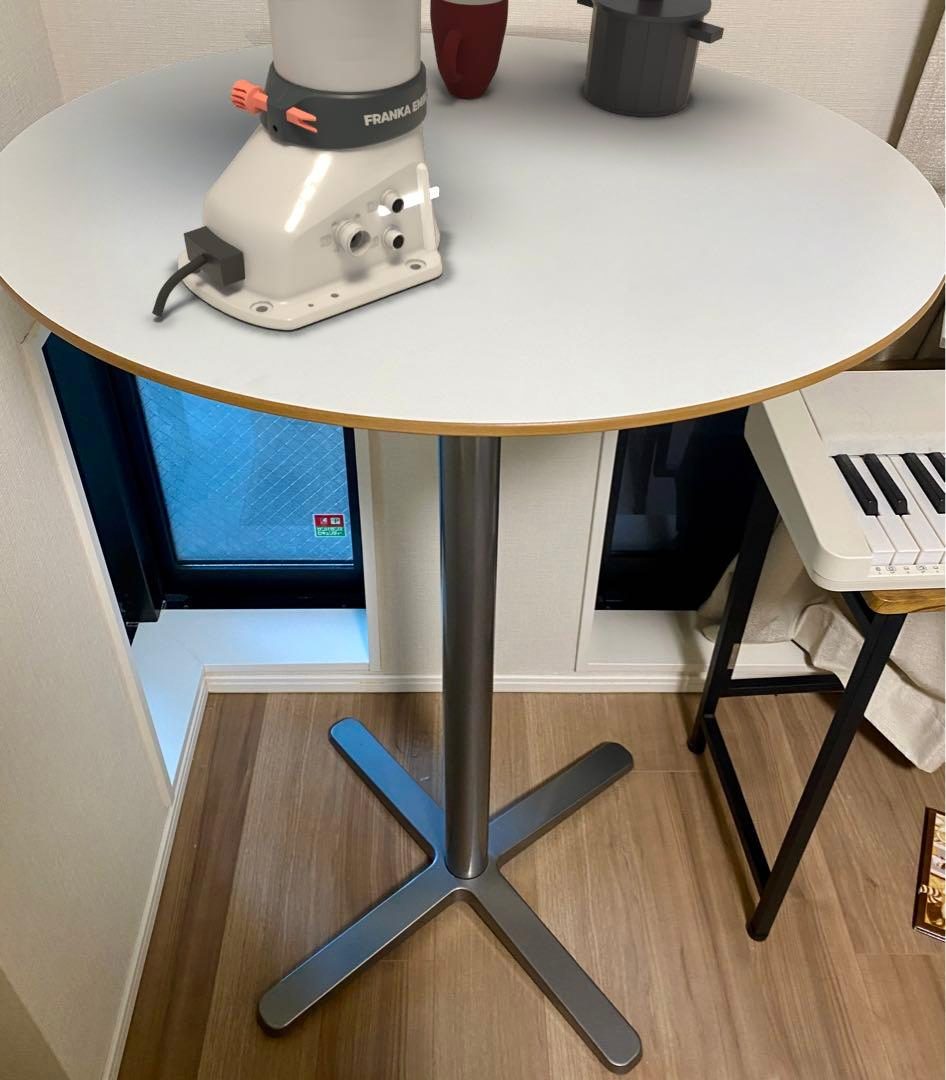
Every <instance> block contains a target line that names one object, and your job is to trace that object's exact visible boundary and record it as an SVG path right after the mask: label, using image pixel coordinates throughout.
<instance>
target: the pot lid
mask: <svg viewBox="0 0 946 1080" xmlns="http://www.w3.org/2000/svg"><path fill="white" fill-rule="evenodd" d="M592 2H593V4H594V5H595V6H596V7H598V8H599V9H601V10H603V11H604V12H607V13H609V14H612V15H615V16H618V17H622V18H626V19H630V20H636V21H643V22H653V23H678V22H687V21H692V20H696V19H699V18H702V17H704V18H705V17H706V16H707V15H708V14H709V13H710V12H711V9H712V6H713V5H712V4H713V2H712V0H592Z"/></svg>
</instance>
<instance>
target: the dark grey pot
mask: <svg viewBox="0 0 946 1080" xmlns="http://www.w3.org/2000/svg"><path fill="white" fill-rule="evenodd" d="M576 4H578V5H582V6H584V7H588V8H590V9H592V13H591V21H590V30H589V31H590V32H589V39H588V50H587V57H586V58H587V59H586V68H585V73H584V75H585V76H584V85H583V88H584V96H585V97H586V99H587V100H588V101H589V102H590V103H592V104H593V105H594V106H596V107H598V108H600V109H603V110H605V111H608V112H612V113H614V114H618V115H623V116H629V117H642V118H643V117H645V118H646V117H647V118H648V117H662V116H667V115H672V114H676V113H677V112H679V111H681V110H683V109H684V108H685V107H686V106H687V104H688V101H689V97H690V94H691V89H692V83H693V79H694V74H695V68H696V62H697V57H698V53H699V46H700V42H703V43H705V44H709V45H711V44H714V43H715V42H717V41H719V40H721V39H723V36H724V31H725V28H724V27H721V26H719V25H716V24H715V25H714V24H711V23H708V22H705V21H704V20H705V16H704V17H702V18H699V19H696V20H692V21H687V22H678V23H653V22H643V21H636V20H630V19H626V18H622V17H618V16H615V15H612V14H609V13H607V12H604V11H603V10H601V9H599V8H598V7H596V6H595V5H594V4H593V2H592V0H576Z"/></svg>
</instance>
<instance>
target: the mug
mask: <svg viewBox="0 0 946 1080" xmlns="http://www.w3.org/2000/svg"><path fill="white" fill-rule="evenodd" d="M429 1H430V3H429V9H430V10H429V18H430V27H431V34H432V40H433V48H434V55H435V60H436V66H437V70H438V72H439V76H440V77H441V80H442V82H443V83H444V86H445V88H446V90H447V92H448V93H449V94H450V95H451V96H453V97H455V98H458V99H464V100H472V99H477V98H481V97H482V96H484V94H486V92H487V90H488V88H489V87H490V84H491V83H492V81H493V79H494V77H495V76H496V73H497V70H498V67H499V64H500V59H501V53H502V49H503V45H504V40H505V35H506V31H507V26H508V20H509V19H508V18H509V17H508V16H509V0H429Z"/></svg>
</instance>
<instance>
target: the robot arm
mask: <svg viewBox="0 0 946 1080" xmlns="http://www.w3.org/2000/svg"><path fill="white" fill-rule="evenodd" d="M267 10H268V18H269V19H268V20H269V30H270V39H271V40H270V41H271V48H272V59H273V60H272V61H271V63H270V64H269V67H268V72H267V76H266V80H265V81H266V82H265V85H264V88H263V87H261V86H260V85H254V84H253V83H251V82H250V81H248V80H246V79H238V80H237V81H235V82H234V83H233V84H232V89H231V90H230V94H231V95H230V100H231V103H232V105H234V107H236V108H238V109H240V110H244V111H247V112H248V113H249V114H251V115H258V114H259V121H260V123H259V125H258V126H257V128H256V129H255V130H254V132H253V133H252V134H251V135H250V137H249V138H248V139H247V140H246V141H245V143H244V145H243V146H242V147H241V149H240V150H239V151H238V152H237V154H236V155H235V157H234V158H233V159H232V160H231V162H230V163H229V164H228V165H227V167H226V168H225V170H224V171H222V174H221V175H220V176H219V177H218V179H216V180H215V183H214V184H212V186H210V188H209V189H208V191H207V193H206V195H205V197H204V201H203V206H202V215H201V216H202V218H201V219H202V221H201V224H202V225H201V227H199V228H195V229H192V230H190V231H186V232H184V233H183V238H184V244H185V250H184V251H183V252H182V253H180V254H179V255H178V256H177V270H176V271H175V272H174V273H173V274H172V275H171V276H170V277H169V278H168V279H167V280H166V281H165V282H164V284H163V285H162V287H161V288H160V291H159V292H158V293H157V296H156V299H155V302H154V305H153V309H152V312H151V313H152V315H154V316H157V317H160V318H162V316H163V313H164V310H165V307H166V304H167V302H168V299H169V296H170V294H171V293H172V292H173V290H174V289H175V288H176V287H177V286H178V285H179V284H180V283H181V282H182V283H183V284H184V285H185V286H186V287H187V289H189V290H190V291H191V292H192V293H193V294H195V295H196V296H197V297H198V298H200V299H201V300H202V301H204V302H206V303H207V304H209V305H210V306H211V307H213V308H216V309H218V310H219V311H221V312H223V313H224V314H226V315H228V316H230V317H233V318H236V319H238V320H240V321H243V322H246V323H249V324H252V325H255V326H259V327H262V328H268V329H275V330H284V331H292V330H296V329H298V328H302V327H305V326H308V325H311V324H313V323H316V322H319V321H321V320H324V319H327V318H330V317H333V316H335V315H338V314H341V313H344V312H346V311H349V310H351V309H354V308H357V307H360V306H363V305H366V304H368V303H371V302H373V301H376V300H379V299H382V298H384V297H387V296H389V295H392V294H395V293H398V292H400V291H401V292H402V291H404V290H406V289H408V288H412V287H414V286H417V285H420V284H423V283H425V282H428V281H431V280H433V279H436V278H439V277H440V276H441V275H442V274H443V263H442V257H441V254H440V251H439V250H438V248H439V246H440V242H441V233H440V229H439V226H438V224H437V219H436V216H435V212H434V208H433V202H432V199H434V198H438V197H439V195H440V194H439V193H440V188H439V187H438V186H434V187H431V183H430V174H429V167H428V161H427V160H428V159H427V154H426V148H425V142H424V134H423V133H424V132H423V122H424V120H425V119H426V117H427V112H428V111H427V110H428V108H427V107H428V102H427V101H428V97H429V93H428V92H429V91H428V87H427V67H426V65H425V63H424V62H423V60H422V59H421V58H422V57H421V56H422V55H421V53H422V50H421V49H422V0H267Z"/></svg>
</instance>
